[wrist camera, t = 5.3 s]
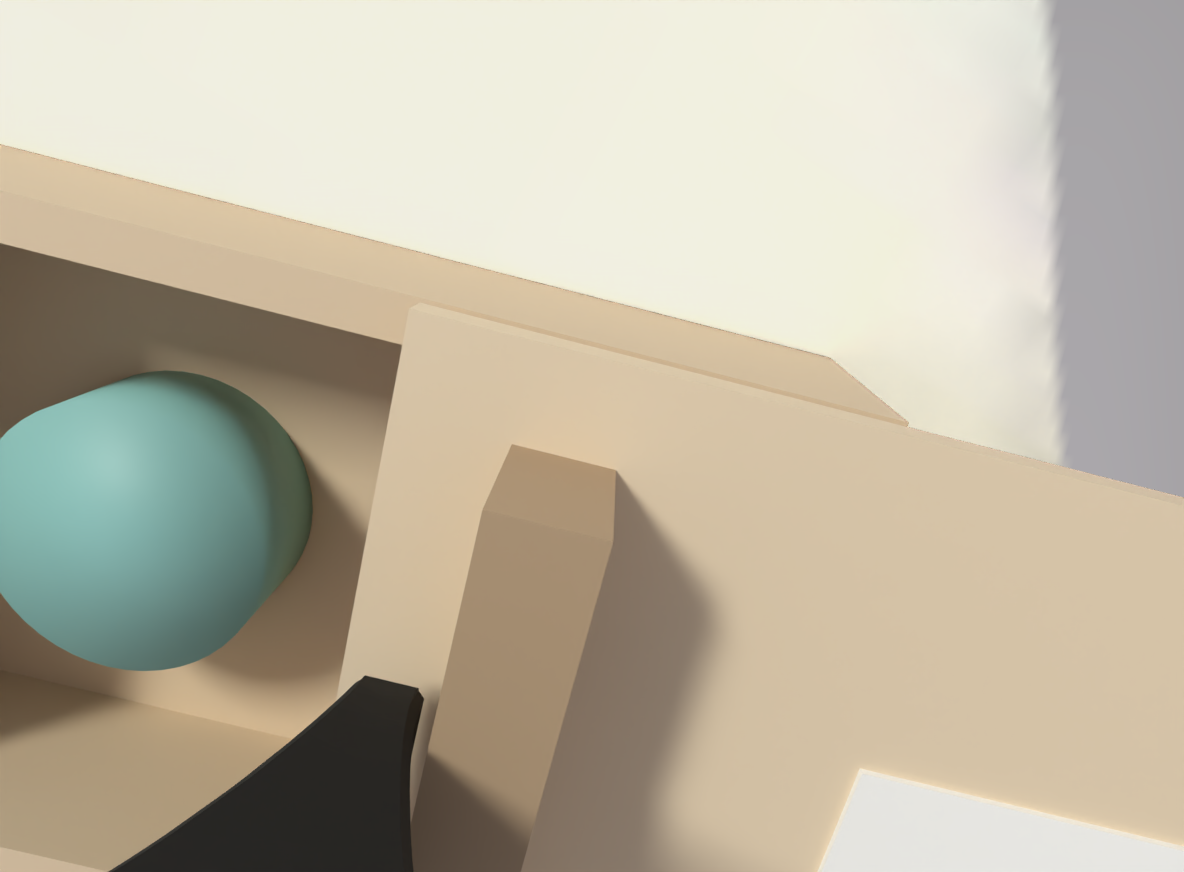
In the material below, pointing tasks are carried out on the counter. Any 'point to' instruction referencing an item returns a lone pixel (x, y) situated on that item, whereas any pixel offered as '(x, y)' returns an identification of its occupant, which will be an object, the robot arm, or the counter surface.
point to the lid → (757, 629)
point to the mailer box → (215, 480)
